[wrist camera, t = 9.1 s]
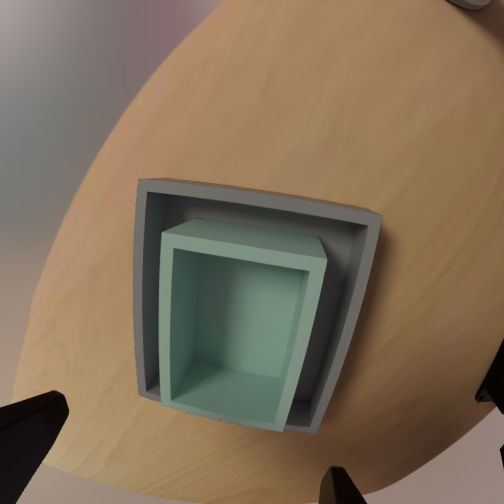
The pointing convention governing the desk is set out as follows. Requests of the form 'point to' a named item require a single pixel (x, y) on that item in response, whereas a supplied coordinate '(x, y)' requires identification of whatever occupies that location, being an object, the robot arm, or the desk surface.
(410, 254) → the desk surface
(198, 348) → the small tote
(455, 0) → the travel mug
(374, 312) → the desk surface
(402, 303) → the desk surface
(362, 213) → the tray
